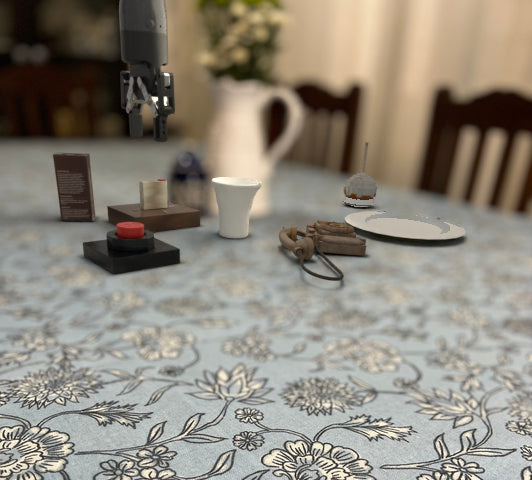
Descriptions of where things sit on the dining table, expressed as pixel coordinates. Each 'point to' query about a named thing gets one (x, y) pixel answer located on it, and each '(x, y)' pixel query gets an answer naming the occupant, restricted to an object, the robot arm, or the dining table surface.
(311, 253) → the telephone
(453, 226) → the plate
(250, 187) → the cup
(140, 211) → the panel
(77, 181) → the box
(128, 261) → the housing
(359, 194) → the grey candy apple
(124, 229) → the button
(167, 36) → the robot arm
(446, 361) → the dining table surface
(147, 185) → the cream slab
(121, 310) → the dining table surface
